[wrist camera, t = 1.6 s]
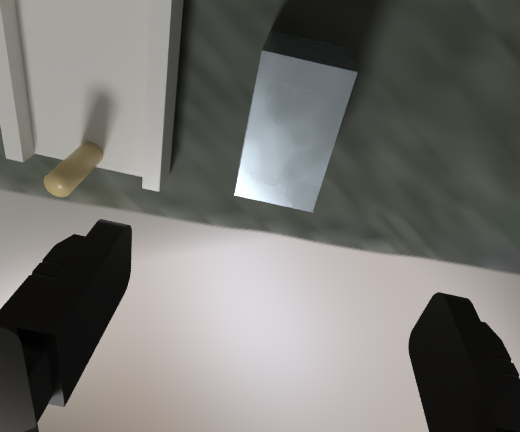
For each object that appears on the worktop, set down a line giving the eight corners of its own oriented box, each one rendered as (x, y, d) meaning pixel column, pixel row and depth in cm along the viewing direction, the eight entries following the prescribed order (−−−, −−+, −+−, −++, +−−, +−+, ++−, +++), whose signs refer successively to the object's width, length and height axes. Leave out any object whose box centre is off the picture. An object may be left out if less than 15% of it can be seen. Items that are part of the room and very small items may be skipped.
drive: (269, 29, 21) (260, 49, 17) (348, 47, 21) (358, 72, 17) (245, 153, 25) (233, 194, 20) (312, 167, 25) (313, 212, 21)
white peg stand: (-6, -105, 19) (-97, -120, 14) (188, -59, 19) (154, -60, 15) (27, 143, 25) (-27, 181, 21) (169, 174, 26) (143, 218, 22)
